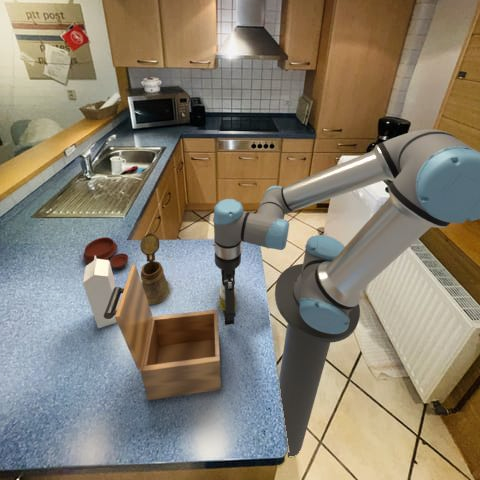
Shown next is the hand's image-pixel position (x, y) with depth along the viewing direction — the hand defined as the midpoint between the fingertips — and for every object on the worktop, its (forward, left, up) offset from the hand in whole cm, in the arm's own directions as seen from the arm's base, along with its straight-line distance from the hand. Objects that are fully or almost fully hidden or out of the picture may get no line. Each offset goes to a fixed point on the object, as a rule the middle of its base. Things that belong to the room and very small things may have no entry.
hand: (227, 301), depth 79 cm
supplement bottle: (0, 0, -2) cm, 2 cm away
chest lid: (+21, +15, +19) cm, 32 cm away
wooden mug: (+24, -10, -2) cm, 26 cm away
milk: (+36, -1, -2) cm, 36 cm away
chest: (+12, +15, -2) cm, 19 cm away
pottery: (+44, -24, -2) cm, 50 cm away
